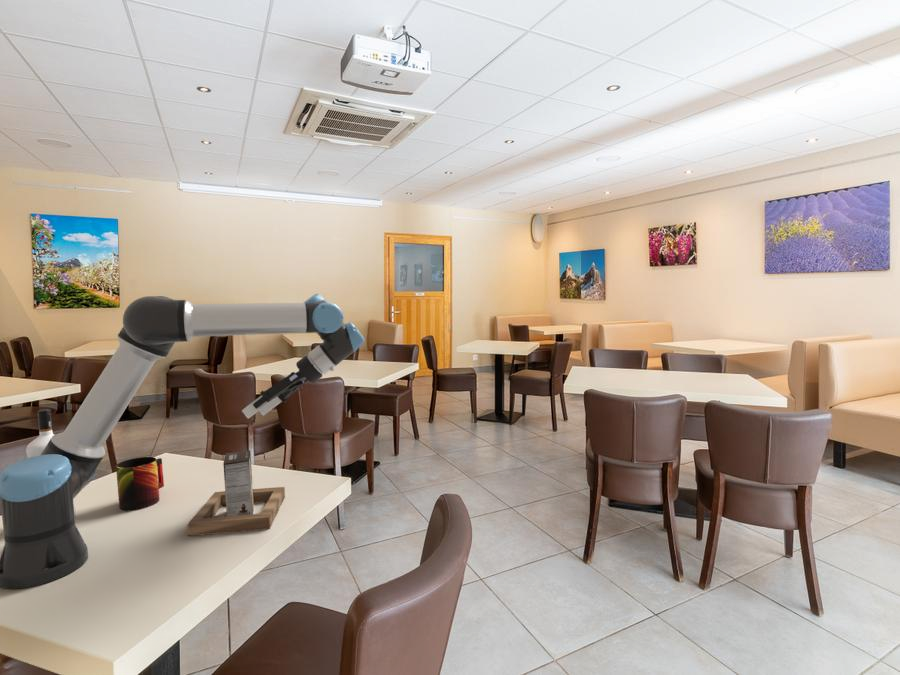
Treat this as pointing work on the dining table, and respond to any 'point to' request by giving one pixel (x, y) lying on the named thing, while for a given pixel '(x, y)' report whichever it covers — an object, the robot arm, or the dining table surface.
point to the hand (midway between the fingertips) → (252, 413)
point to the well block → (210, 525)
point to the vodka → (42, 436)
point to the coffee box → (238, 483)
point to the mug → (139, 482)
